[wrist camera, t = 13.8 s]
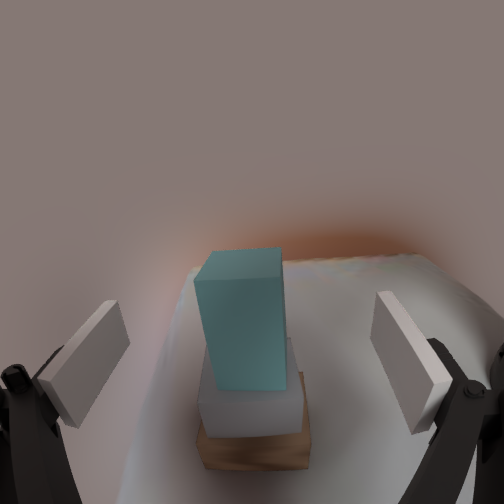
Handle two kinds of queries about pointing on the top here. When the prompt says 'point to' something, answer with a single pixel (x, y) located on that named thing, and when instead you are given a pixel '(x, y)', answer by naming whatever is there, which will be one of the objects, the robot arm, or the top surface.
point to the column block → (244, 318)
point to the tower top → (251, 406)
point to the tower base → (258, 449)
